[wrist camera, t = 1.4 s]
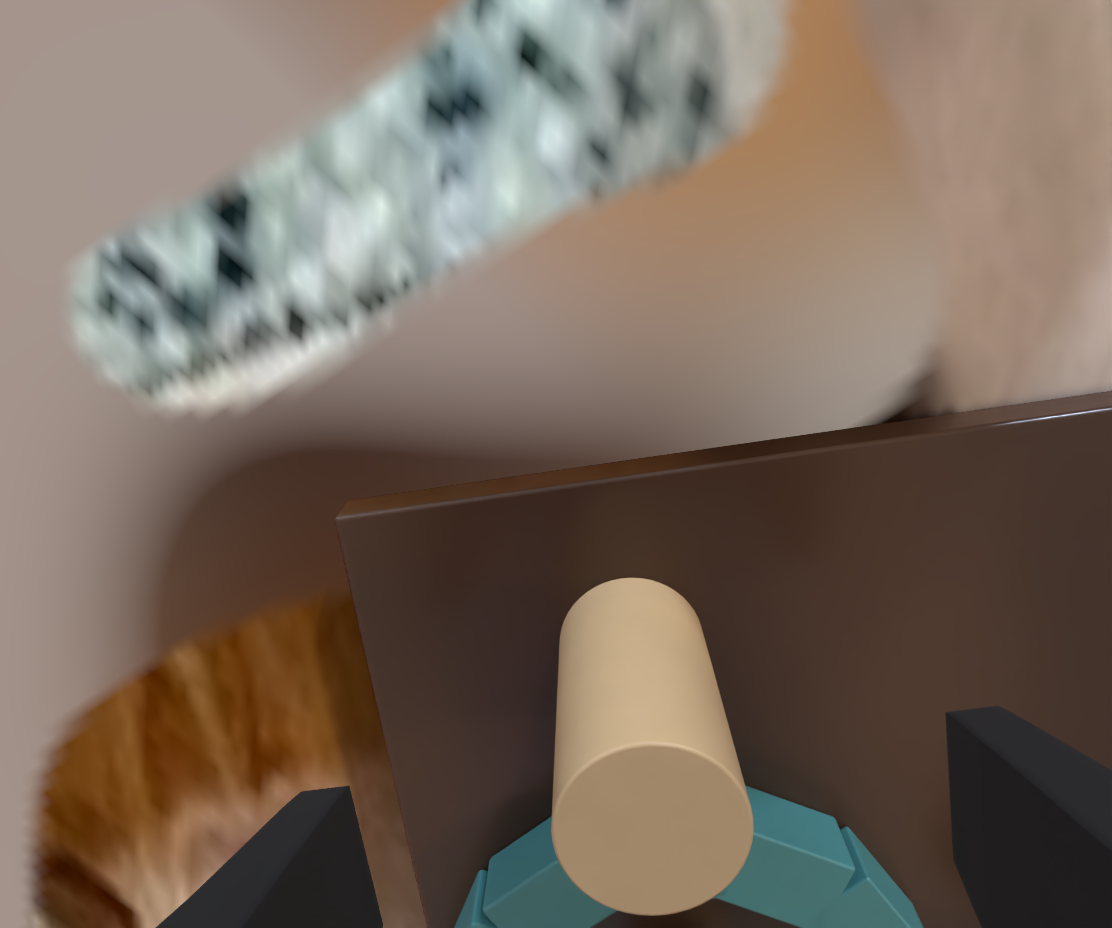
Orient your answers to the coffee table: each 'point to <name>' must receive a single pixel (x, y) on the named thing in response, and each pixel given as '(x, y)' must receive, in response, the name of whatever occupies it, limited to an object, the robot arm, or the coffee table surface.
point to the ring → (666, 795)
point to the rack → (753, 624)
